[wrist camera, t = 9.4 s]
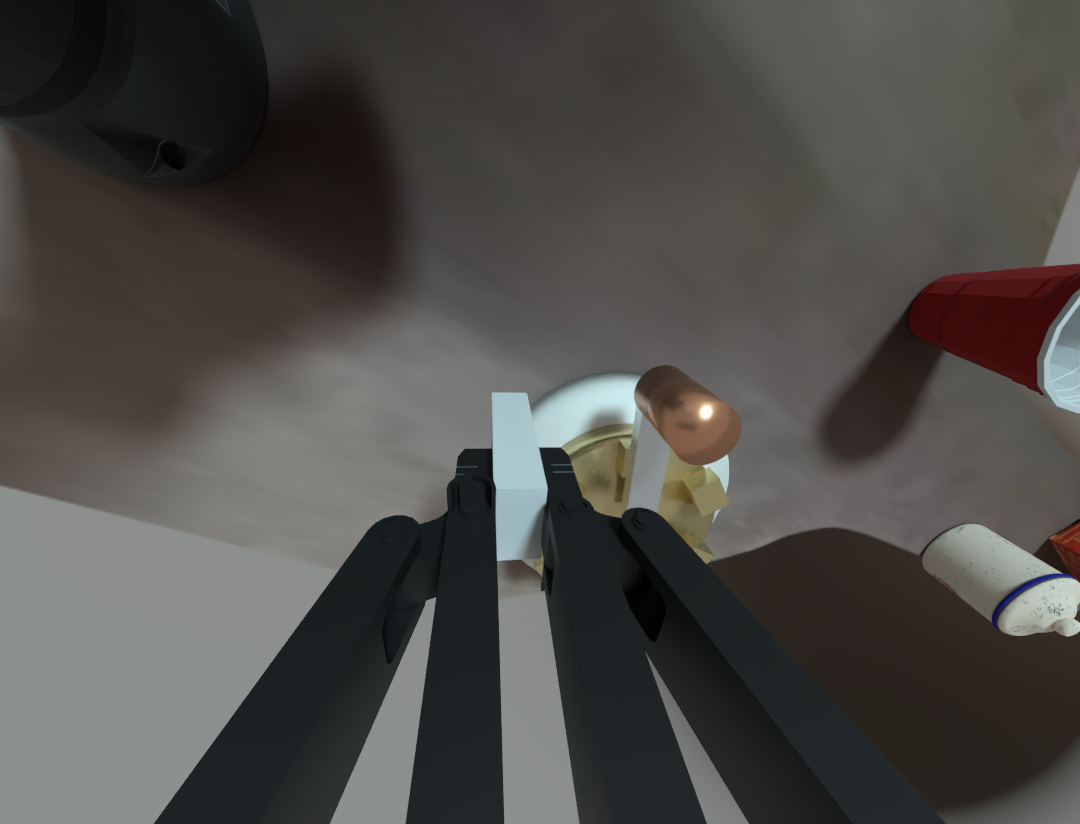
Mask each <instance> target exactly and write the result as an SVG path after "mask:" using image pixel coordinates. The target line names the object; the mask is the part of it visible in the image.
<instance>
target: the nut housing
mask: <svg viewBox="0 0 1080 824" xmlns="http://www.w3.org/2000/svg"><path fill="white" fill-rule="evenodd" d="M640 377H641V375H636V374H628V373H603V374H597V375H591V376H586V377H583V378H579V379H576V380H573V381H570V382H568V383H566V384H563V385H561V386H559V387H557V388H555V389H553V390H552V391H550V392H548V393H546V394H545V395H543V396H542V397H541V398H539V399H538V400H537V401H535V402H534V403H533V404H531V405H530V410H531V414H532V419H533V423H534V428H535V433H536V437H537V442H538V446H539V447H561V446H563V445H564V444H565V443H567V442H568V441H570V440H572V439H573V438H575V437H577V436H578V435H581V434H583V433H585V432H587V431H590V430H593V429H596V428H599V427H602V426H607V425H612V424H623V423H632V424H634V418H635V411H636V404H635V400H634V391H635V387H636V385H637V383H638V381H639V379H640ZM703 467H704V468H705V469H706V468H708V467H710V468H711V469H712V470H713V472H714V473H715V474H716V475H717V476H718V477H719V478H720V481H721V483H722V486H723V488H724V491H725V493H726V491H727V487H728V480H729V461H728V456H727V455H726V456H724V457H723V458H721V459H720V460H718V461H716V462H713V463H710V464H707V465H703ZM719 510H720V509H719ZM719 510H717V511H715V514H714V519H713V521H714V520H715V518H716V516H717V514H718V512H719ZM713 521H712V523H713ZM522 561H523V562H525V563H526V564H527V565H529V566H530V567H532V568H533V569H535V568H534V560H533V559H522ZM535 570H536V569H535ZM536 571H537V570H536Z"/></svg>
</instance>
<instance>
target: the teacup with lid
mask: <svg viewBox="0 0 1080 824" xmlns="http://www.w3.org/2000/svg"><path fill="white" fill-rule="evenodd" d="M922 565H923V567H924V569H925V570H926V571H927V572H928V573H930V574H931V575H932V576H933V577H935V578H936V579H937V580H938V581H940V582H941V583H942V584H944V585H945V586H946V587H947V588H949V589H950V590H951V591H953V592H954V593H955V594H956V595H958V596H959V597H960V598H962V599H963V600H964V601H965V602H967V603H968V604H969V605H971V606H972V607H973V608H974V609H976V610H977V611H978V612H980V613H981V614H982V615H983V616H985V617H986V618H987V619H989V620H990V621H991V622H992V624H993V626H994V627H995V628H996V629H998V630H1000V631H1002V632H1004V633H1007V634H1010V635H1015V636H1022V635H1029V634H1033V633H1036V632H1051V631H1055V630H1056V631H1057V632H1058V633H1060V634H1061V635H1064V636H1072V635H1074V634H1076V633H1078V632H1079V631H1080V623H1079V622H1077V621H1076V620H1075V619H1074V617H1075V616H1076V613H1077V606H1078V604H1079V603H1080V583H1079V582H1078V581H1077V580H1076V579H1075V578H1074V577H1072V576H1071V575H1068V574H1063V573H1061V572H1059V571H1058V570H1056V569H1054V568H1053V567H1051V566H1049V565H1048V564H1046V563H1044V562H1043V561H1041V560H1039V559H1038V558H1036V557H1034V556H1033V555H1031V554H1029V553H1027V552H1026V551H1024V550H1022V549H1021V548H1019V547H1017V546H1016V545H1014V544H1012V543H1011V542H1009V541H1007V540H1006V539H1004V538H1002V537H1001V536H999V535H997V534H996V533H994V532H992V531H991V530H989V529H987V528H986V527H984V526H982V525H978V524H964V525H960V526H957V527H954V528H952V529H949V530H947V531H946V532H944V533H942V534H941V535H939V536H938V537H937V538H936V539H935V540H933V541H932V542H931V543H930V545H929V546H928V547H927V548H926V550H925V552H924V554H923V557H922Z"/></svg>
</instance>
